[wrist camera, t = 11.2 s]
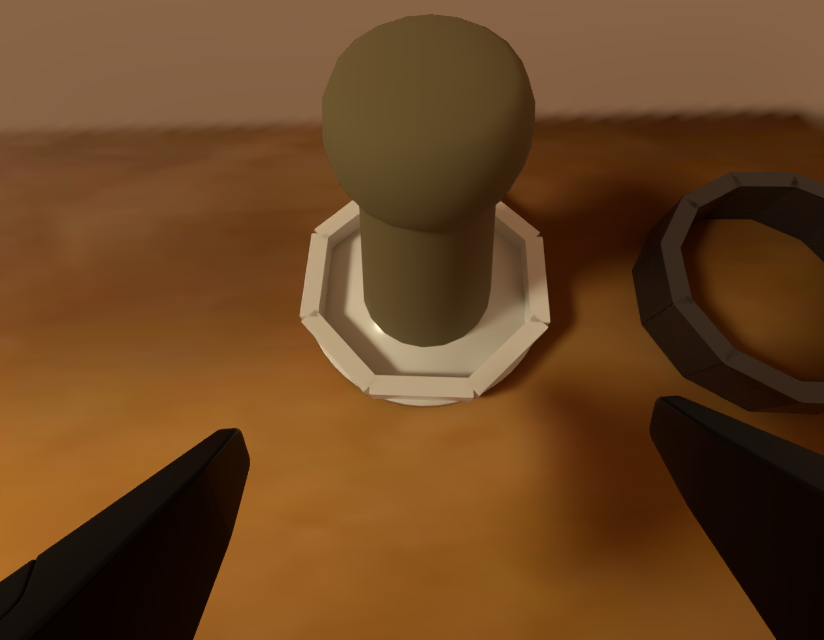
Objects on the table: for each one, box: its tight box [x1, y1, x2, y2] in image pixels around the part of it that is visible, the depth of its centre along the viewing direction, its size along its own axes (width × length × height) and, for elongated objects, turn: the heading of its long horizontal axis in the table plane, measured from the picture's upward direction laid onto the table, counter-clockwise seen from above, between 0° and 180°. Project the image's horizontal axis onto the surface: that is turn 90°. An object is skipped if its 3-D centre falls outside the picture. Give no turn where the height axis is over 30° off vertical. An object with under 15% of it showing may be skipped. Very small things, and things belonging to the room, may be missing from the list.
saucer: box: [300, 201, 550, 407], centre depth 18 cm, size 11×11×2 cm
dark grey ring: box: [632, 172, 824, 414], centre depth 17 cm, size 11×11×2 cm
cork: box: [322, 14, 535, 347], centre depth 13 cm, size 6×6×11 cm
